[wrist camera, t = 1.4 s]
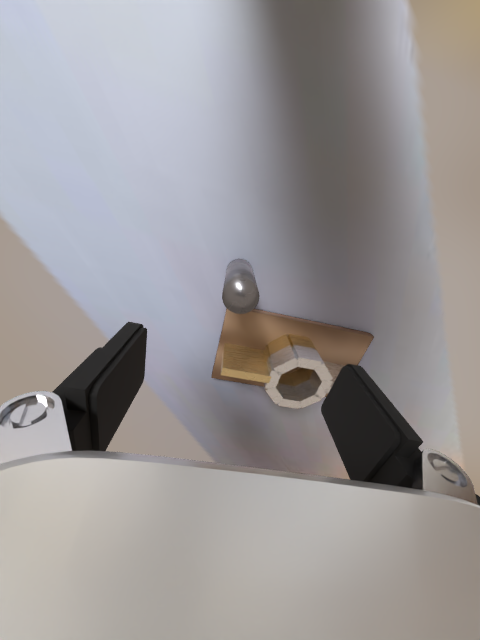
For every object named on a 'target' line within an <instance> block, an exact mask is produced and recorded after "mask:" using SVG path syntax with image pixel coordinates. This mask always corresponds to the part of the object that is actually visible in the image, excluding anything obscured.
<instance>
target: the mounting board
mask: <svg viewBox="0 0 480 640" xmlns="http://www.w3.org/2000/svg"><path fill="white" fill-rule="evenodd" d="M285 334H286V335H287V337H288V334H294V335H299V336H304V337H308V338H309V339H311V341H312V343H313V345H314V346H315V348H316V350H317V352H318V353H319V355H320V357H321V359H322V360H323V361H324V362H329V363H334V364H340V365H345V366H346V365H347V364H353V365H358V364H359V362H360V360H361V358H362V357H363V355H364V353H365V352H366V350H367V348H368V346H369V345H370V343H371V341H372V340H373V338H374V336H372V335H371V334H370V333H367V332H363V331H358V330H353V329H348V328H344V327H339V326H334V325H329V324H324V323H320V322H315V321H310V320H305V319H301V318H296V317H291V316H286V315H282V314H277V313H272V312H267V311H263V310H258V309H253V310H252V311H250V312H248V313H245V314H236V313H233V312H231V311H230V310H228V309H226V314H225V318H224V323H223V327H222V332H221V336H220V341H219V345H218V349H217V354H216V358H215V363H214V367H213V372H212V378H216V379H222V380H228V381H234V382H240V383H246V384H252V385H258V386H264V382H258V381H252V380H246V379H241V378H235V377H229V376H223V375H221V366H222V356H223V348H224V343H228V344H234V345H239V346H244V347H250V348H255V349H260V350H264V349H265V347H266V345H268V343H269V342H271V341H273V340H275V339H277V338H279V337H281V336H283V335H285ZM301 368H302V367H296V368H294V369H292V370H290V371H288V372H286V373H292V372H294V371H296V370H299V369H301ZM264 387H265V386H264ZM327 395H328V393H326V395H325V397H327Z"/></svg>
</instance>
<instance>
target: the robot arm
mask: <svg viewBox="0 0 480 640" xmlns="http://www.w3.org/2000/svg"><path fill="white" fill-rule="evenodd" d="M146 340H147V329H146V328H143V325H142V324H138V323H133V322H128V323H126V324H125V325H124V326H123V327H122V328H121V329H120V330H119V332H118V333H117V334H116V335H115V336H114V337H113V338H112V339H111V340H110V341H109V342H108V343H107V344H106V345H105V346H104V347H103V348H98V349H96V350H95V351H94V352H93V353H92V354H91V355H90V356H89V357H88V358H87V359H86V360H85V361H84V362H83V363H82V364H81V365H80V366H79V367H77V368H76V369H75V371H73V372H72V373H71V374H70V375H69V376H68V377H67V378H66V379H65V380H64V381H63V382H62V383H61V384H60V385H59V386H58V387H57V388H56V389H55V390H54V391H53V392H47V391H37V392H31V393H26V394H23V395H20V396H17V397H15V398H13V399H11V400H9V401H7V402H5V403H4V404H3V405H1V406H0V640H480V497H479V496H478V495H476V494H475V491H474V487H473V484H472V482H471V480H470V478H469V477H468V475H467V474H466V473H465V471H464V470H463V469H462V468H461V467H460V466H459V465H458V464H456V463H455V462H454V461H453V460H452V459H450V458H449V457H447V456H446V455H444V454H442V453H440V452H438V451H436V450H433V449H425V450H423V451H422V452H421V451H420V450H419V448H418V447H419V446H420V445H421V444H422V443H423V441H422V440H421V438H420V437H419V436H418V435H417V433H416V432H415V431H414V430H413V429H412V427H411V426H410V425H409V424H408V423H407V421H406V420H405V419H404V418H403V416H402V415H401V414H400V413H399V412H398V410H397V409H396V408H395V407H394V405H393V404H392V403H391V402H390V401H389V399H388V398H387V397H386V396H385V394H384V393H383V392H382V391H381V390H380V388H379V387H378V386H377V385H376V384H375V382H374V381H373V380H372V379H371V377H370V376H369V375H368V374H367V373H366V371H365V370H364V369H363V368H362V367H361V366H358V365H353V364H347V365H346V366H343V367H342V369H341V371H340V372H339V374H338V376H337V378H336V380H335V382H334V384H333V385H332V387H331V389H330V391H329V393H328V395H327V397H326V399H325V400H324V402H323V404H322V407H321V412H322V415H323V417H324V419H325V421H326V424H327V426H328V428H329V431H330V433H331V435H332V438H333V440H334V442H335V445H336V447H337V449H338V452H339V454H340V456H341V459H342V461H343V463H344V466H345V468H346V470H347V473H348V475H349V477H350V479H351V480H348V479H340V478H333V477H325V476H317V475H309V474H302V473H294V472H286V471H278V470H270V469H262V468H254V467H246V466H238V465H229V464H221V463H212V462H204V461H195V460H186V459H179V458H170V457H161V456H151V455H142V454H132V453H122V452H108V451H106V449H107V447H108V445H109V443H110V441H111V440H112V438H113V436H114V434H115V432H116V430H117V429H118V427H119V425H120V423H121V421H122V420H123V418H124V416H125V414H126V412H127V410H128V408H129V407H130V405H131V403H132V401H133V399H134V398H135V396H136V394H137V392H138V390H139V388H140V387H141V385H142V383H143V380H144V373H145V357H146Z"/></svg>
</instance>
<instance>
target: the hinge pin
mask: <svg viewBox="0 0 480 640" xmlns="http://www.w3.org/2000/svg"><path fill="white" fill-rule="evenodd" d="M222 299H223V303H224V305H225V306H226V308H227V309H228V310H230V311H231V312H233V313H236V314H245V313H248V312H250V311H252V310H253V309H254V308H255V307H256V305H257V304H258V301H259V292H258V288H257V285H256V281H255V277H254V274H253V270H252V267H251V265H250V264H249V262H247V261H246V260H243V259H235V260H233V261H232V262H230V263H229V265H228V266H227V269H226V275H225V282H224V288H223V294H222Z"/></svg>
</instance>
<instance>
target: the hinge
mask: <svg viewBox="0 0 480 640" xmlns="http://www.w3.org/2000/svg"><path fill="white" fill-rule="evenodd" d="M343 366H345V365H340V364H334V363H329V362H324V361H323V360H322V359H321V357H320V355H319V353H318V352H317V350H316V348H315V346H314V345H313V343H312V341H311V339H309V338H308V337H304V336H299V335H294V334H288V337H287V335H286V334H285V335H283V336H281V337H279V338H277V339H275V340H273V341H271V342H269V343H268V345H266V347H265V349H264V350H260V349H255V348H250V347H244V346H239V345H234V344H228V343H224V348H223V356H222V366H221V375H223V376H229V377H235V378H241V379H246V380H252V381H258V382H264V386H265V391H266V392H267V394H268V395H269V396H270V397H271V399H272V400H273V401H274V403H275V404H278V406H283V407H290V408H296V409H299V407H301V408H304V407H306V406H309V405H311V404H313V403H316V402H318V401H321V400H322V399H321V398H324V397H325V395H326V393H329V391H330V389H331V387H332V385H333V384H334V382H335V380H336V378H337V376H338V374H339V372H340V371H341V369H342V367H343ZM296 367H302V368H301V369H299V370H296V371H294V372H292V373H286V372H288V371H290V370H292V369H294V368H296Z"/></svg>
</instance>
